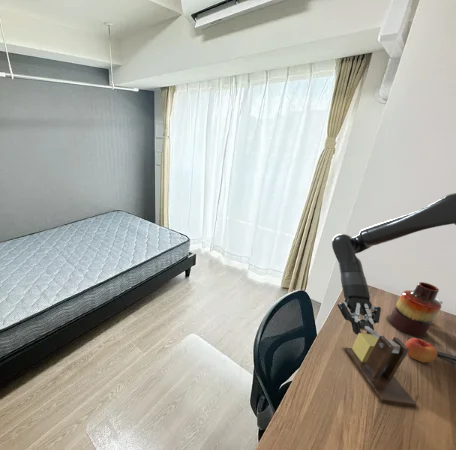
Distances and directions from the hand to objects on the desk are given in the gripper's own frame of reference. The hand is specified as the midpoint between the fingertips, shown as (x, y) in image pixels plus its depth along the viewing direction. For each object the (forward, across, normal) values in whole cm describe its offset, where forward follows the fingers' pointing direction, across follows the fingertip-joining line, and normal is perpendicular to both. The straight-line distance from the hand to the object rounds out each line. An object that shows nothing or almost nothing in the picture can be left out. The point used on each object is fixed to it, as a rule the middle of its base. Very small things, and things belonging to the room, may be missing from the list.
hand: (364, 334), depth 85 cm
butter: (+7, 0, +2) cm, 7 cm away
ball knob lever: (+1, 0, -4) cm, 4 cm away
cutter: (+12, 0, -1) cm, 12 cm away
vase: (-6, +28, +17) cm, 33 cm away
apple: (+5, +20, +6) cm, 21 cm away
